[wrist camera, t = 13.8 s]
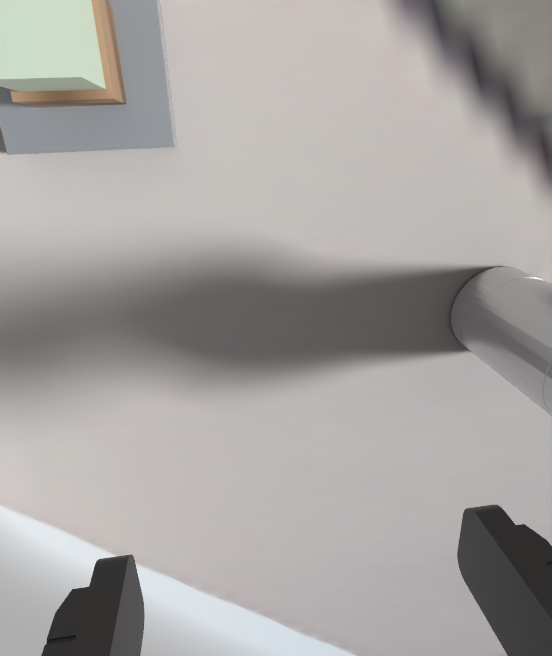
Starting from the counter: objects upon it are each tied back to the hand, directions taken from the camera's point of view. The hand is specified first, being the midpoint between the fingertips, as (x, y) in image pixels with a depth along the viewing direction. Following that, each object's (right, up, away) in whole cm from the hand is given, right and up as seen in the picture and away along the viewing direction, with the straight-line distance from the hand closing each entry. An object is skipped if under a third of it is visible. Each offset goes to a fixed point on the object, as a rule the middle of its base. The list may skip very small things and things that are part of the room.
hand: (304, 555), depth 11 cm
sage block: (-14, +22, +16) cm, 31 cm away
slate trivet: (-15, +25, +24) cm, 38 cm away
